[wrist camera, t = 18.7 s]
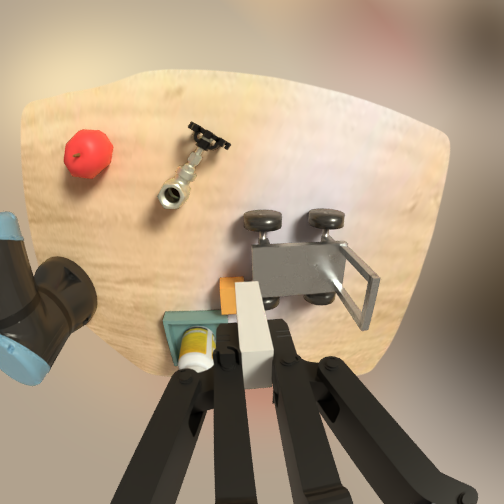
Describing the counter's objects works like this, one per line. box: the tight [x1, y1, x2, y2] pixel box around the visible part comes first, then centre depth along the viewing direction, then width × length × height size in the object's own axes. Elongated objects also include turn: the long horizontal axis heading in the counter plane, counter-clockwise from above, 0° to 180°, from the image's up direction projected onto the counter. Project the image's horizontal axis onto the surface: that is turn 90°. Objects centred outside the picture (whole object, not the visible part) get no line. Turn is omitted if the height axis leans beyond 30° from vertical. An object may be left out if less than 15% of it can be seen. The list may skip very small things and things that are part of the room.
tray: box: [163, 310, 228, 366], centre depth 50 cm, size 12×12×3 cm
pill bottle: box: [178, 326, 216, 372], centre depth 45 cm, size 6×6×12 cm
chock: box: [220, 277, 244, 315], centre depth 46 cm, size 4×5×4 cm
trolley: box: [244, 209, 380, 331], centre depth 38 cm, size 16×15×18 cm
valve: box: [157, 121, 231, 209], centre depth 36 cm, size 7×7×12 cm
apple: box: [64, 129, 113, 179], centre depth 33 cm, size 8×8×8 cm
